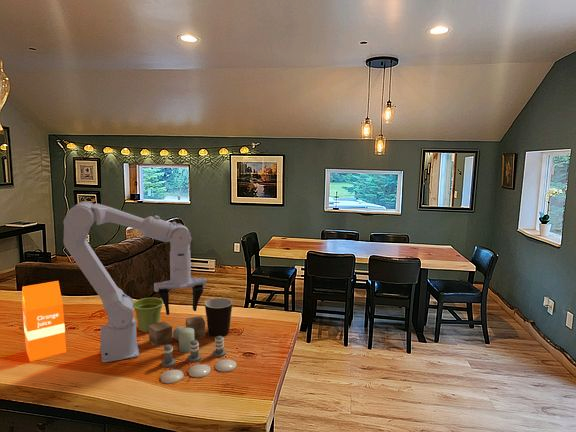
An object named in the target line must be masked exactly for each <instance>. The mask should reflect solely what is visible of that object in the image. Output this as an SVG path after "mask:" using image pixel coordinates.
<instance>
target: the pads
mask: <svg viewBox="0 0 576 432" xmlns="http://www.w3.org/2000/svg"><path fill="white" fill-rule="evenodd" d="M214 368H215V370H216V371H218V372H222V373H227V372H232V371H233V370H235V369H236V368H237V362H236V361H234V360H233V359H230V358H229V359H221V360H219V361H217V362H216V363H215V366H214ZM210 373H211V367H210V365H207V364H204V363H203V364H195V365H193V366H191V367H190V368H189V369H188V375H189V376H190V377H192V378H198V379H199V378H204V377H207V376H208V375H209V374H210ZM183 378H184V372H183V371H182V370H180V369H170V370H169V369H168V370H166V371H164V372H163V373H162V374H160V377H159V379H160V381H161V382H162V383H164V384H175V383H177V382H179V381H181V380H183Z"/></svg>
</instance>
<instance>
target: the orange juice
mask: <svg viewBox="0 0 576 432" xmlns="http://www.w3.org/2000/svg"><path fill="white" fill-rule="evenodd" d="M21 289H22V290H21V298H22V299H21V306H22V318H23V330H24V339H25V340H24V341H25V349H26V350H25V352H26V354H27V357H28V360H29V363H31V362H34V361H37V360H41V359H44V358H45V359H46V358H49V357H52V356H56V355H60V354H63V353H67V343H66V342H67V341H66V327H65V326H66V325H65V315H64V303H63V298H62V293H61V288H60V282H59V280H54V281H49V282H48V281H47V282H43V283H38V284H36V283H35V284H30V285H26V286H25V285H23V286H22V288H21Z"/></svg>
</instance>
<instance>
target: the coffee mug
mask: <svg viewBox="0 0 576 432" xmlns="http://www.w3.org/2000/svg"><path fill="white" fill-rule="evenodd" d="M204 309H205V314H206V315H205V316H206V324H207V331H208V335H209V336H210V337H213V338H216V337H217V336H222V337H226V336H228V335H229V334H230V327H231V320H232V319H231V318H232V311H233V300H232V299H229V298H226V297H216V298H215V297H213V298H210V299H208V300H205V302H204Z"/></svg>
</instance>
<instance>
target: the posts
mask: <svg viewBox="0 0 576 432" xmlns="http://www.w3.org/2000/svg"><path fill="white" fill-rule="evenodd" d="M224 337H225V336H224ZM224 337H222V336H217V337H214V348H215V349H214V350H213V351H212V355H213V357H215V358H223V357H225V356H226V354H227V351H226V349H224V347H225V346H224V343H225V342H224V340H225V339H224ZM163 346H164V347H163V350H162V351H163V355H164V356H163V357H164V358H163V359H162V360H161V367H163V368H170V367H174V366H175V365H176V358H173V351H174V350H173V349H174V348H173V345H172V344H164V345H163ZM199 346H200V344H199V340H197V339H195V340H193V341H191V343H190V351H191V352H190V354H189V355H188V356H187V361H188V362H190V363H196V362H199V361H201V360H202V355H201V354H200V353H199V350H200V347H199Z"/></svg>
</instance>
